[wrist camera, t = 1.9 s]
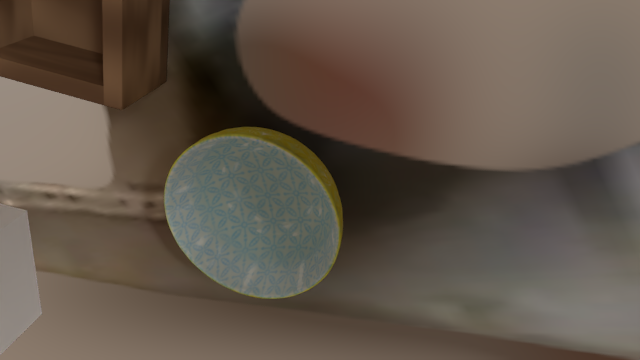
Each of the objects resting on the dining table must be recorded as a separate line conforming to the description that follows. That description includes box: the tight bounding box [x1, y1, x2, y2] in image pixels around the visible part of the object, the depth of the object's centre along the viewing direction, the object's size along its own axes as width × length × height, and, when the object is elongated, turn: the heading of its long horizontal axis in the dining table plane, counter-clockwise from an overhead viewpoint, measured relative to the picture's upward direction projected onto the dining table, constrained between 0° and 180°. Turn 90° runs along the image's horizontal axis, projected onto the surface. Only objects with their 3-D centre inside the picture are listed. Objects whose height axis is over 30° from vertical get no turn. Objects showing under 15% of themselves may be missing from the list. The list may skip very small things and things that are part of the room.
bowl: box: [164, 127, 343, 299], centre depth 39 cm, size 11×12×6 cm
